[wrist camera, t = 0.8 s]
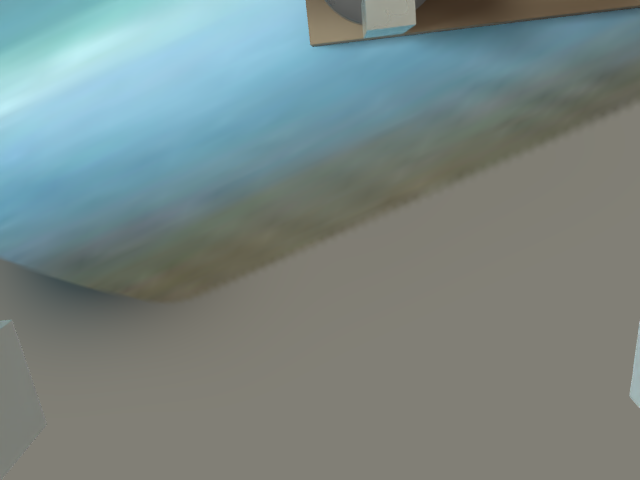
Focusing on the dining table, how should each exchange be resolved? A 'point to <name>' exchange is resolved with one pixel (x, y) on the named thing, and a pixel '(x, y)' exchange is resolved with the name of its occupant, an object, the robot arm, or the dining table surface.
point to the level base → (455, 16)
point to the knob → (378, 15)
